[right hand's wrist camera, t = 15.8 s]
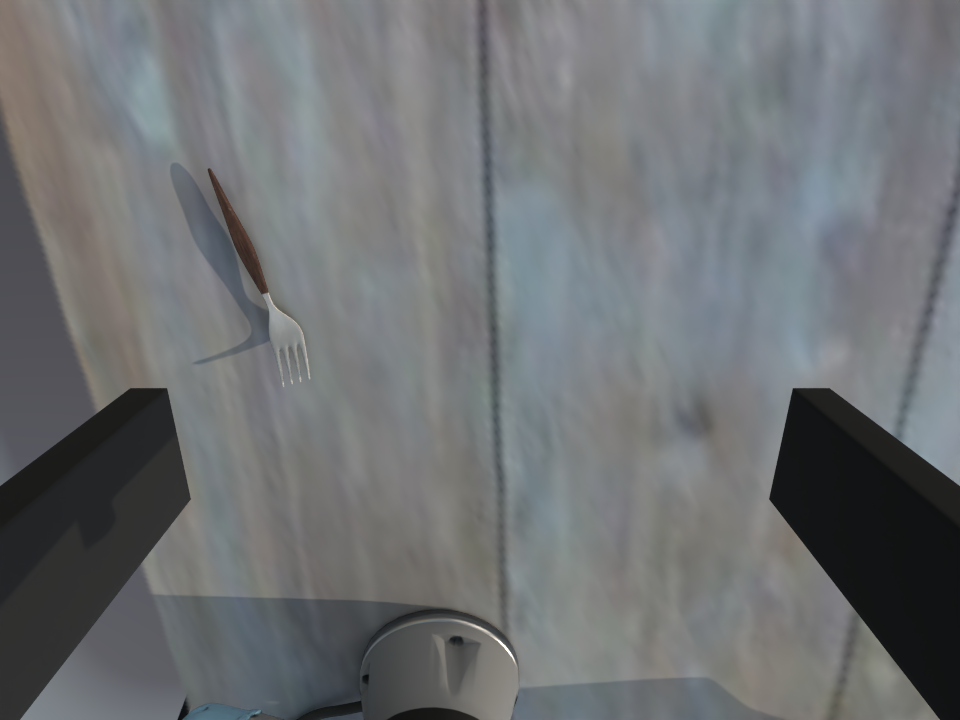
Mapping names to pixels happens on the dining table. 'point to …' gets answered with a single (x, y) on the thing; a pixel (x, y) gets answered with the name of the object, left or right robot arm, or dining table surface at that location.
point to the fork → (263, 290)
